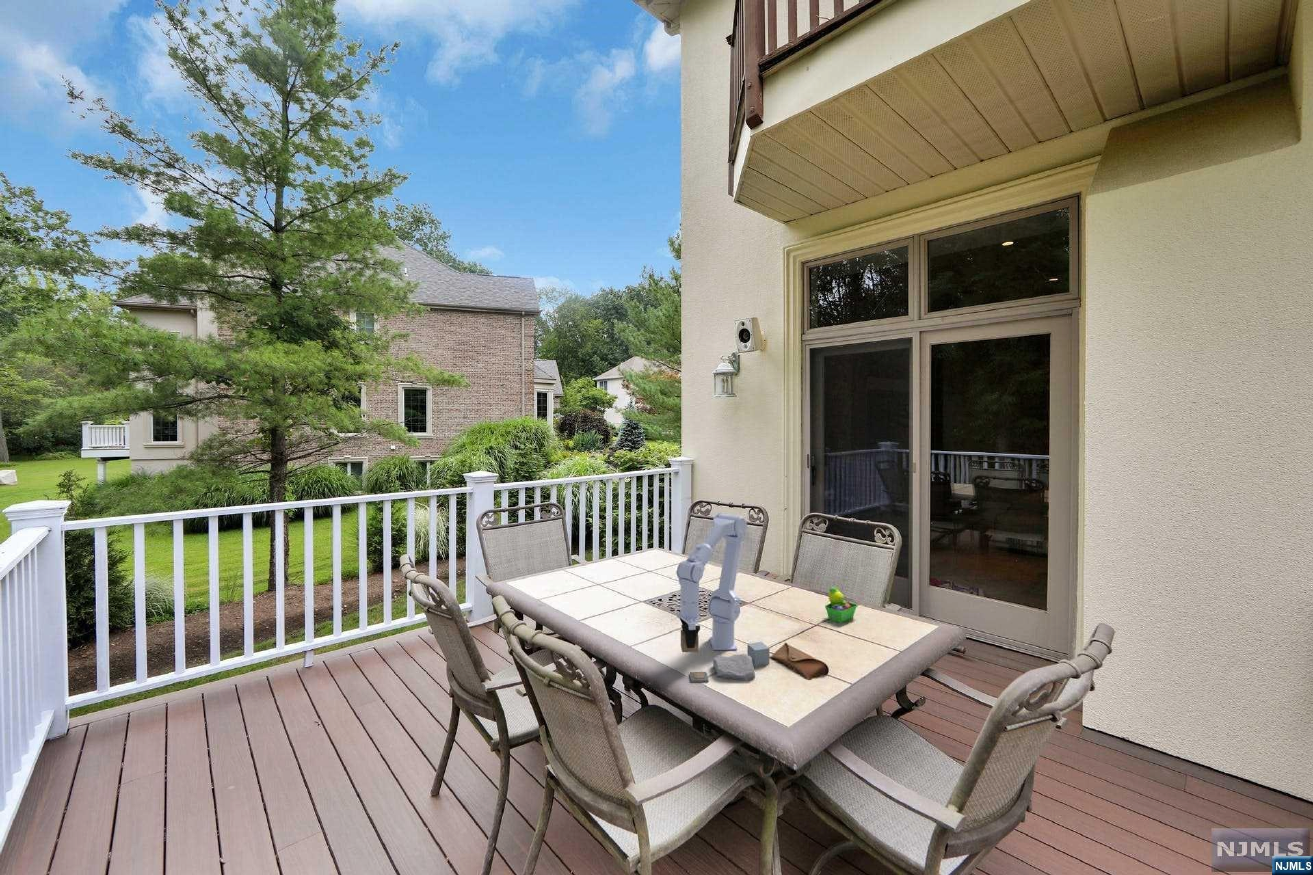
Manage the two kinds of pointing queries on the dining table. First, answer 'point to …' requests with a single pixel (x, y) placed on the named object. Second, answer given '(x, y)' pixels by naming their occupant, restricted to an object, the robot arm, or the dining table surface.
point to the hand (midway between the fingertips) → (689, 643)
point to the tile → (699, 677)
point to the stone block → (734, 667)
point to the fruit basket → (839, 607)
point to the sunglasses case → (800, 662)
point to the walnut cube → (684, 646)
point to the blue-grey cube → (758, 653)
